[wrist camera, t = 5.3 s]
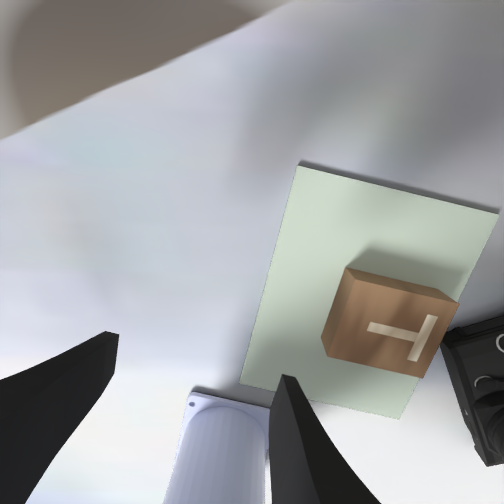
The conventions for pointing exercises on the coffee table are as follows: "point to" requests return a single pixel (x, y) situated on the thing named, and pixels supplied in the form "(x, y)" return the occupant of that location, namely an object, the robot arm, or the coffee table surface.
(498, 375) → the film camera
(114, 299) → the coffee table surface
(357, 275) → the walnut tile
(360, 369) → the mat
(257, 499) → the robot arm
